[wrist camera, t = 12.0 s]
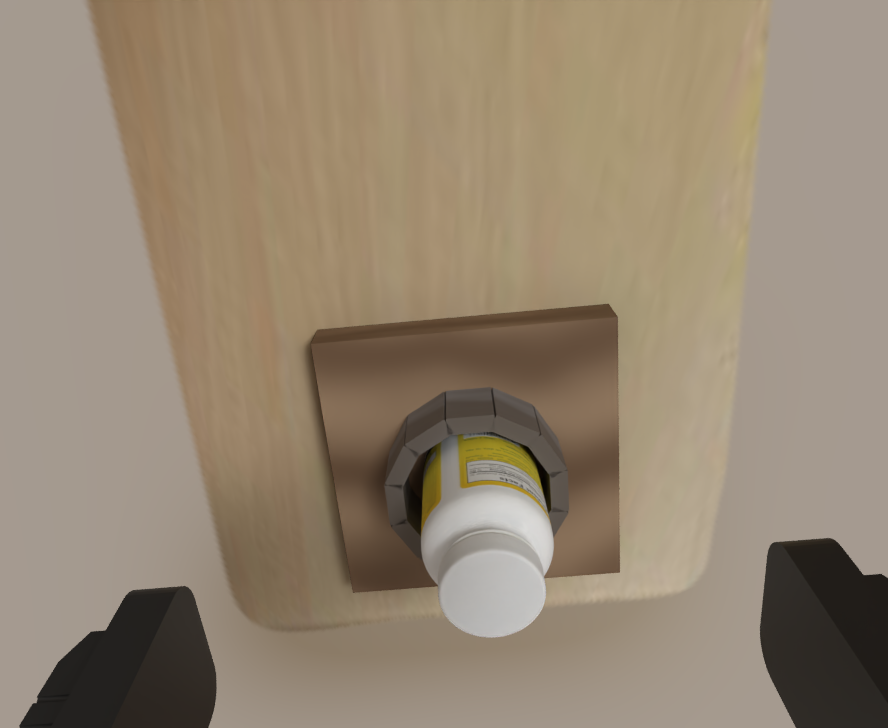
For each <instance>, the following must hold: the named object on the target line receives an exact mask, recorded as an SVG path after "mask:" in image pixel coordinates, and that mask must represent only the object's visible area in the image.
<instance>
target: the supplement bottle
mask: <svg viewBox="0 0 888 728" xmlns="http://www.w3.org/2000/svg"><path fill="white" fill-rule="evenodd" d="M553 550H554V539H553V532H552V527H551V522H550V519H549V515H548V511H547V507H546V502H545V498H544V494H543V490H542V486H541V482H540V478H539V474H538V470H537V466H536V462H535V459H534V455H533V452H532V451H531V450H530V448H529V447H528V446H525V445H523V444H520V443H518V442H516V441H513V440H511V439H508V438H506V437H504V436H501V435H499V434H496V433H494V432H482V433H470V434H458V435H451V436H449V437H447V438H446V439H444V440H443V441H441V442H440V443H438V444H436V445H435V446H433V447H432V448H430V449H428V450H427V453H426V456H425V461H424V471H423V499H422V524H421V552H422V558H423V562H424V564H425V567H426V569H427V571H428V573H429V575H430V576H431V578H432V579H433V580H434V582H435V583H436V584H437V585H438V597H439V603H440V606H441V609H442V611H443V613H444V615H445V616H446V617H447V619H448V620H449V621H450V622H451V623H452V624H453V625H454V626H456V627H457V628H459V629H460V630H462V631H464V632H467V633H469V634H472V635H476V636H481V637H502V636H506V635H510V634H513V633H516V632H518V631H520V630H522V629H524V628H525V627H526V626H528V625H529V624H530V623H531V622H532V621H534V620H535V618H536V617H537V616H538V615H539V613H540V611H541V610H542V608H543V605H544V602H545V597H546V585H545V580H544V576H545V574H546V572H547V571H548V569H549V566H550V564H551V561H552V557H553Z"/></svg>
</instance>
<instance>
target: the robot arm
mask: <svg viewBox="0 0 888 728" xmlns="http://www.w3.org/2000/svg"><path fill="white" fill-rule="evenodd" d="M760 639H761V647H762V652H763V657H764V660H765V664H766V667H767V670H768V673H769V675H770V677H771V679H772V681H773V683H774V685H775V687H776V689H777V691H778V693H779V695H780V697H781V699H782V701H783V703H784V705H785V707H786V709H787V711H788V713H789V715H790V717H791V719H792V721H793V723H794V724H795V727H796V728H888V578H887V577H885V576H884V575H882V574H876V575H863V574H862V573H861V571H859V569H858V567H857V566H856V565H855V564H854V562H853V561H852V560H851V558H850V557H849V556H848V555H847V554H846V552H845V551H844V550H843V548H842V547H841V546H840V545H839V544H838V542H836V541H835V540H833V539H831V538H824V539H811V540H798V541H785V542H774V543H772V544H771V546H770V548H769V550H768V555H767V564H766V574H765V584H764V594H763V605H762V614H761V624H760ZM37 698H38V700H37V703H34V704H32V706H31V707H30V709H29V711H28V712H27V714H26V716H25V717H24V719H23V721H22V722H21V724H20V728H208V726H209V724H210V721H211V718H212V714H213V711H214V706H215V700H216V672H215V666H214V663H213V659H212V656H211V652H210V649H209V646H208V642H207V639H206V635H205V632H204V629H203V625H202V622H201V618H200V615H199V612H198V608H197V605H196V601H195V598H194V595H193V593H192V591H191V590H190V589H189V588H188V587H186V586H183V587H182V586H181V587H168V588H155V589H144V590H143V589H142V590H133V591H131V592H129V593H128V594H127V595H126V596H125V598H124V600H123V601H122V603H121V605H120V607H119V608H118V610H117V612H116V613H115V615H114V617H113V619H112V620H111V622H110V624H109V626H108V627H107V629H106V631H94V632H90V633H89V634H88V635H87V636H86V637H85V638H84V639H83V640H82V641H81V642H80V643H78V645H76V646H75V647H74V648H73V649H72V650H71V651H70V652H69V653H68V654H67V655H66V656H64V658H62V659H61V660H60V661H59V662H58V664H57V665H56V667H55V668H54V670H53V672H52V673H51V675H50V677H49V678H48V680H47V681H46V683H45V685H44V687H43V688H42V690H41V691H40V693H39V694H38V696H37Z"/></svg>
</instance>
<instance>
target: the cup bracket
mask: <svg viewBox="0 0 888 728" xmlns="http://www.w3.org/2000/svg"><path fill="white" fill-rule="evenodd" d="M311 350H312V355H313V361H314V367H315V373H316V379H317V385H318V391H319V396H320V402H321V408H322V414H323V420H324V426H325V432H326V437H327V443H328V449H329V455H330V461H331V467H332V473H333V478H334V484H335V490H336V496H337V502H338V508H339V514H340V519H341V525H342V531H343V537H344V543H345V549H346V555H347V560H348V566H349V572H350V578H351V584H352V590H353V593H355V592H368V591H381V590H394V589H408V588H421V587H434V586H438V585H437V584H436V583H435V582H434V580H433V579H432V578H431V576H430V575H429V573H428V571H427V569H426V567H425V564H424V562H423V558H422V552H421V524H422V499H423V471H424V461H425V456H426V453H427V450H428V449H430V448H432V447H433V446H435V445H436V444H438V443H440V442H441V441H443V440H444V439H446V438H447V437H449V436H451V435H458V434H470V433H482V432H494V433H496V434H499V435H501V436H504V437H506V438H508V439H511V440H513V441H516V442H518V443H520V444H523V445H525V446H528V447H529V448H530V450H531V451H532V452H533V455H534V459H535V462H536V466H537V470H538V474H539V478H540V482H541V486H542V490H543V494H544V498H545V502H546V507H547V511H548V515H549V519H550V522H551V527H552V532H553V539H554V550H553V557H552V561H551V564H550V566H549V569H548V571H547V572H546V574H545V576H544V578H553V577H566V576H579V575H592V574H605V573H619V572H620V535H619V416H618V317H617V315H616V314H615V312H614V311H613V310H612V308H611V307H610V305H609V304H603V305H592V306H580V307H569V308H558V309H547V310H535V311H524V312H513V313H502V314H490V315H479V316H468V317H457V318H446V319H434V320H423V321H412V322H401V323H389V324H378V325H367V326H356V327H344V328H333V329H322V330H317V332H316V334H315V336H314V338H313V340H312V342H311Z"/></svg>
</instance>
